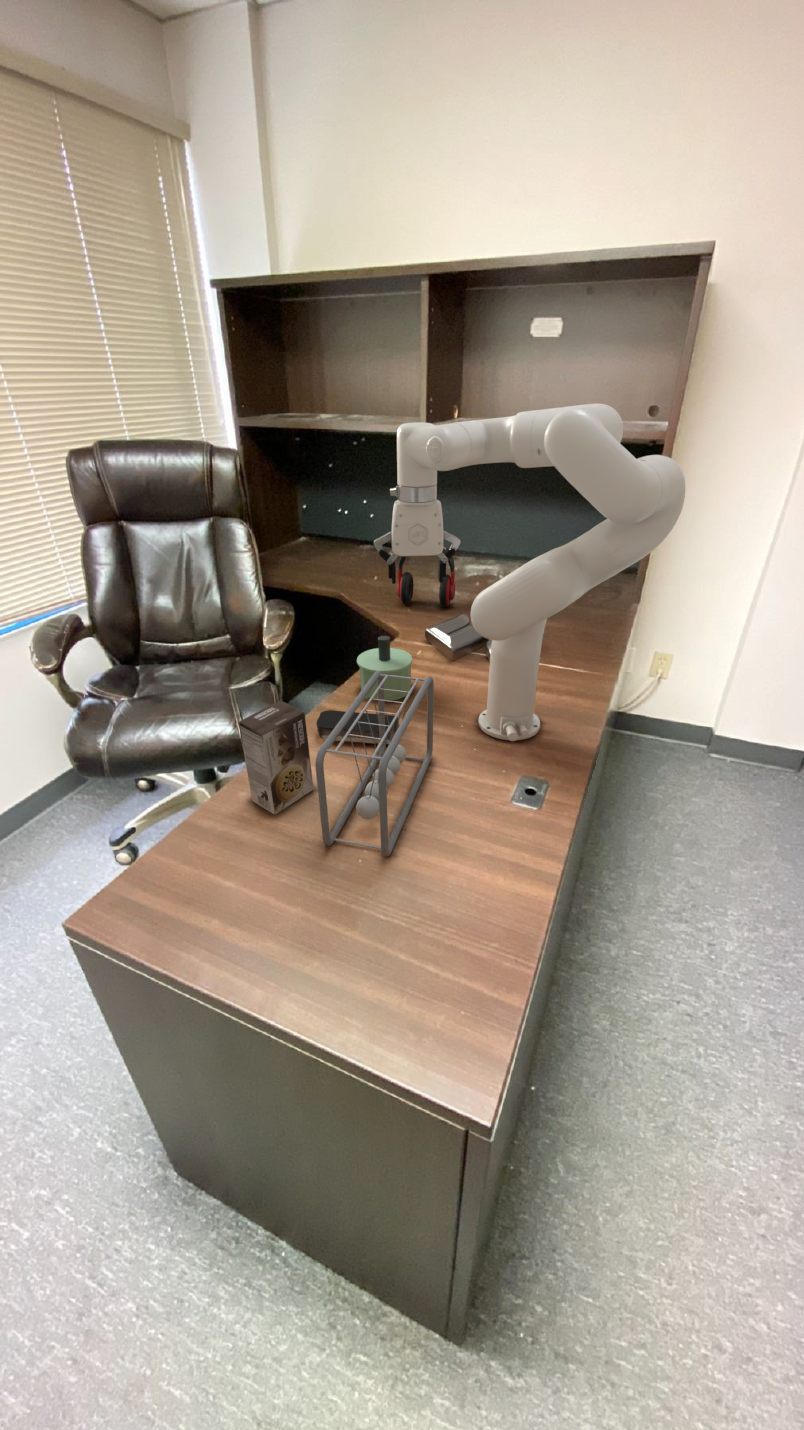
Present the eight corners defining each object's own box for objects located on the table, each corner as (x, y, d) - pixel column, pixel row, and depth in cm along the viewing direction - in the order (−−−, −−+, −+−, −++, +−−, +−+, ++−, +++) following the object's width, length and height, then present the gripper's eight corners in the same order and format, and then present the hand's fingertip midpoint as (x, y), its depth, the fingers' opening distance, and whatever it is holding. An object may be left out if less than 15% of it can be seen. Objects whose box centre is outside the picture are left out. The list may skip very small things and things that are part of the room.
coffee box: (290, 776, 111) (280, 699, 103) (314, 790, 107) (306, 710, 99) (250, 801, 105) (236, 720, 97) (274, 816, 101) (262, 733, 93)
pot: (412, 702, 135) (412, 671, 131) (360, 703, 134) (359, 673, 131) (409, 679, 145) (409, 650, 141) (361, 680, 144) (359, 651, 140)
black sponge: (314, 743, 120) (312, 727, 119) (325, 721, 128) (324, 706, 126) (395, 750, 118) (395, 734, 116) (402, 727, 125) (402, 712, 123)
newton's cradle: (387, 863, 91) (384, 765, 82) (322, 851, 94) (312, 755, 85) (433, 755, 116) (434, 672, 107) (381, 748, 119) (378, 665, 110)
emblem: (433, 603, 175) (532, 609, 170) (433, 621, 177) (530, 627, 172) (415, 641, 151) (529, 649, 146) (415, 660, 154) (527, 669, 149)
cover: (414, 674, 131) (414, 648, 128) (356, 676, 131) (355, 650, 127) (410, 651, 142) (410, 626, 139) (357, 653, 141) (356, 628, 138)
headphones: (455, 601, 192) (458, 537, 182) (451, 612, 184) (453, 545, 174) (401, 598, 195) (400, 535, 185) (395, 608, 187) (393, 543, 177)
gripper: (372, 498, 113) (375, 588, 121) (464, 496, 113) (461, 585, 122) (371, 491, 119) (374, 576, 128) (459, 489, 120) (456, 574, 128)
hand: (417, 581), depth 125 cm, fingers open, 9 cm apart
